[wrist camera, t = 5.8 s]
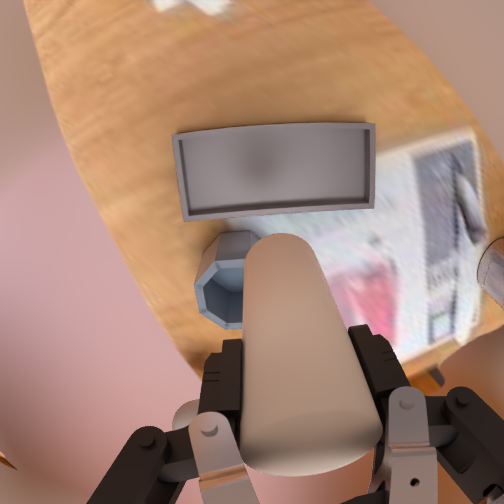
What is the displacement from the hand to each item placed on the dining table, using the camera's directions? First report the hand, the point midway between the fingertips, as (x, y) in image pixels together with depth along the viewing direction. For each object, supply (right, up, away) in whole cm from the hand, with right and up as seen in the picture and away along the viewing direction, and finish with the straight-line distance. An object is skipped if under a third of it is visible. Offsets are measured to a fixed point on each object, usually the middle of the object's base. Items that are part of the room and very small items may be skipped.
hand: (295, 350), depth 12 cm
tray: (+1, +13, +19) cm, 23 cm away
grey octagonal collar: (-3, +3, +24) cm, 25 cm away
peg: (0, +3, +7) cm, 7 cm away
